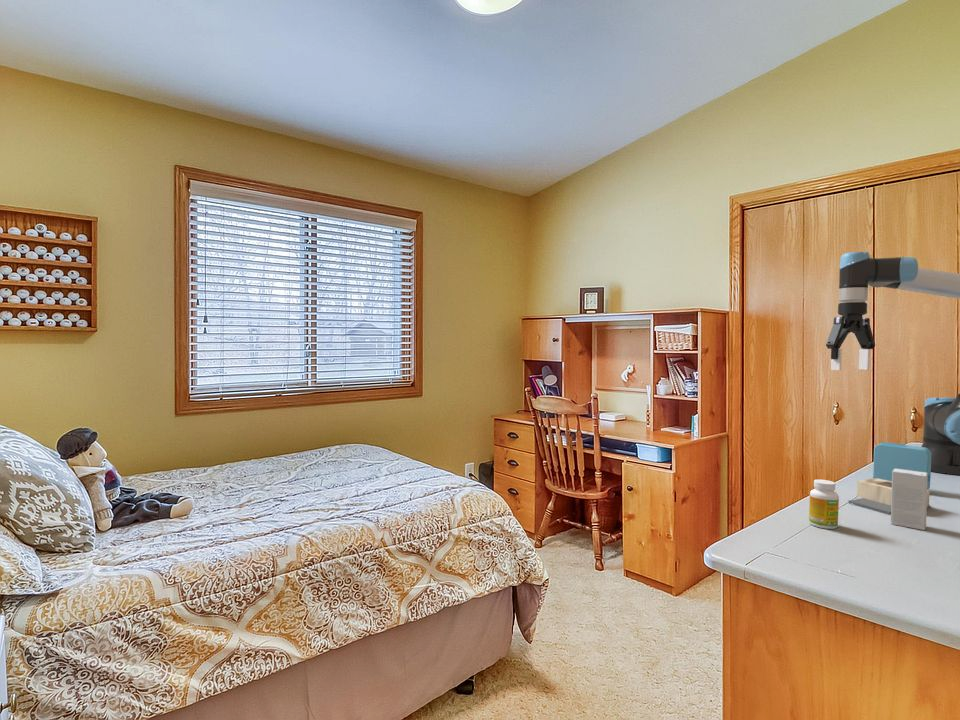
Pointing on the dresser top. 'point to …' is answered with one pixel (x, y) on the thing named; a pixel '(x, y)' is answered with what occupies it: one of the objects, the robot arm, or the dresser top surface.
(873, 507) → the charcoal mat
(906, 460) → the data package
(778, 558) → the dresser top surface
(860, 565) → the dresser top surface
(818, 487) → the supplement bottle
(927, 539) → the dresser top surface
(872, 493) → the maple block
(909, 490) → the skincare box
